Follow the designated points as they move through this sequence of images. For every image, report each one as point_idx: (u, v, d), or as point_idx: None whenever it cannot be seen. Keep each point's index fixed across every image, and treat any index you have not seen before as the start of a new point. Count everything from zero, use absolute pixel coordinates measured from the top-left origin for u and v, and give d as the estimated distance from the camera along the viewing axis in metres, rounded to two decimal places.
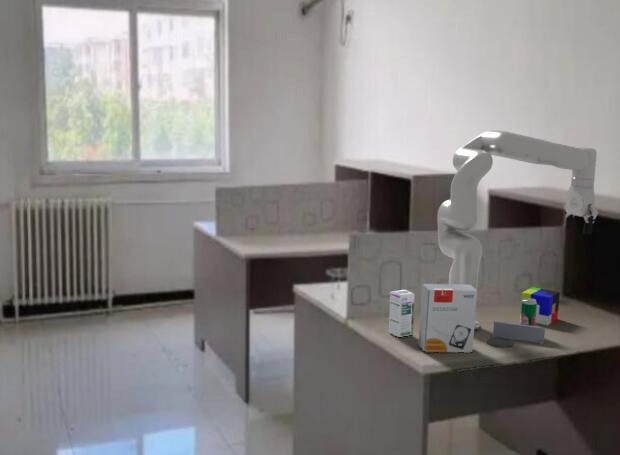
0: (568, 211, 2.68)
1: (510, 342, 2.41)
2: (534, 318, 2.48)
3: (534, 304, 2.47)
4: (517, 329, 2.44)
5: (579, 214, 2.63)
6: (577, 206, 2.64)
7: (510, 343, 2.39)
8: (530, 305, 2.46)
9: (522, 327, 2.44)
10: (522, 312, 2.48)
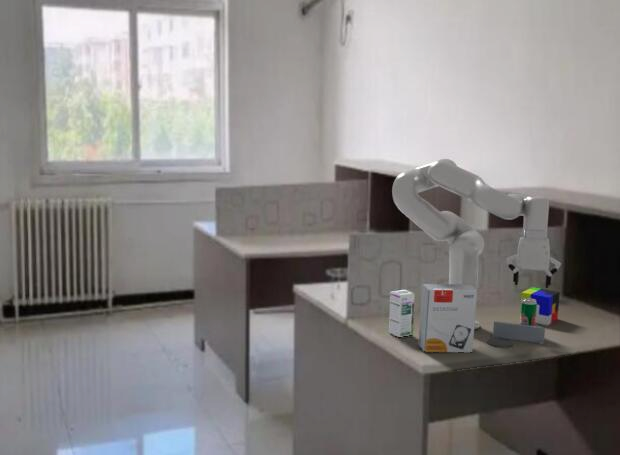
0: (523, 266, 2.45)
1: (510, 342, 2.41)
2: (534, 318, 2.48)
3: (534, 304, 2.47)
4: (517, 329, 2.44)
5: (543, 268, 2.43)
6: (538, 260, 2.43)
7: (510, 343, 2.39)
8: (530, 305, 2.46)
9: (522, 327, 2.44)
10: (522, 312, 2.48)
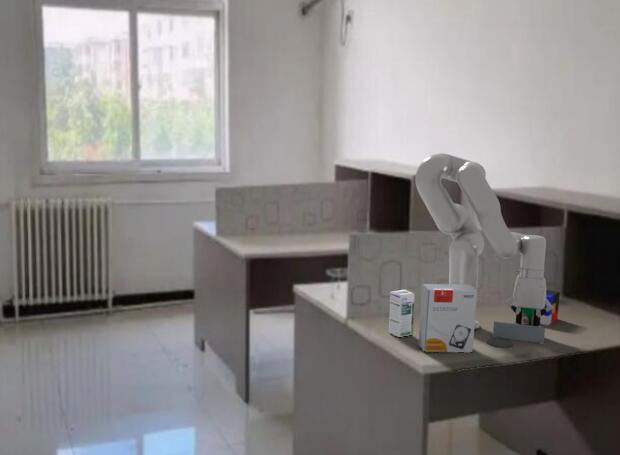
0: (519, 304, 2.47)
1: (510, 342, 2.41)
2: (534, 318, 2.48)
3: None
4: (517, 329, 2.44)
5: (539, 307, 2.45)
6: (535, 299, 2.45)
7: (510, 343, 2.39)
8: None
9: (522, 327, 2.44)
10: (522, 312, 2.48)
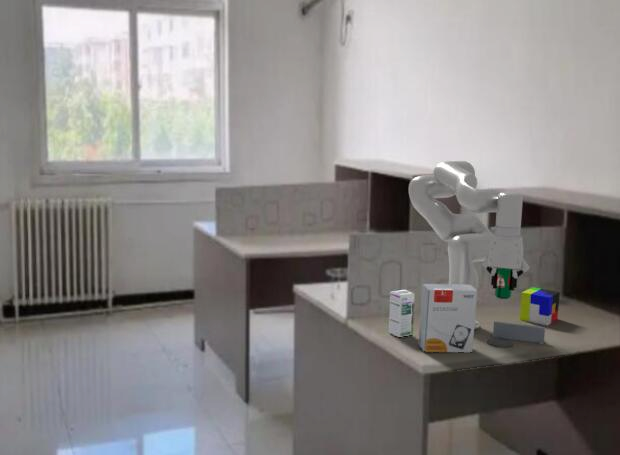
0: (495, 265, 2.35)
1: (510, 342, 2.41)
2: (510, 279, 2.36)
3: None
4: (517, 329, 2.44)
5: (515, 267, 2.33)
6: (511, 259, 2.33)
7: (510, 343, 2.39)
8: None
9: (522, 327, 2.44)
10: (498, 273, 2.36)
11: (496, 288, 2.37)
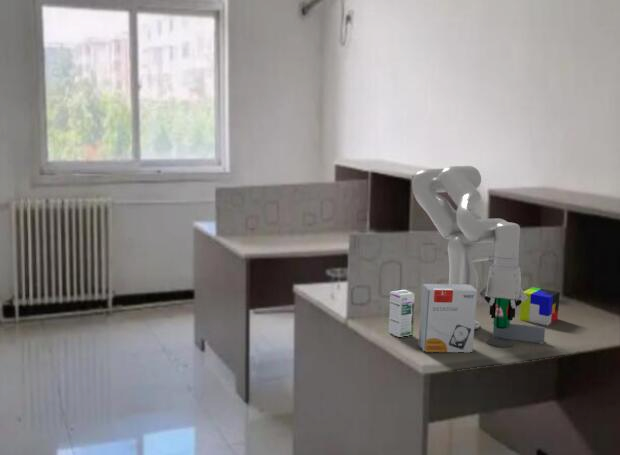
0: (493, 295, 2.37)
1: (510, 342, 2.41)
2: (508, 309, 2.37)
3: None
4: (517, 329, 2.44)
5: (513, 297, 2.35)
6: (509, 289, 2.35)
7: (510, 343, 2.39)
8: None
9: (522, 327, 2.44)
10: (496, 303, 2.38)
11: (494, 318, 2.39)
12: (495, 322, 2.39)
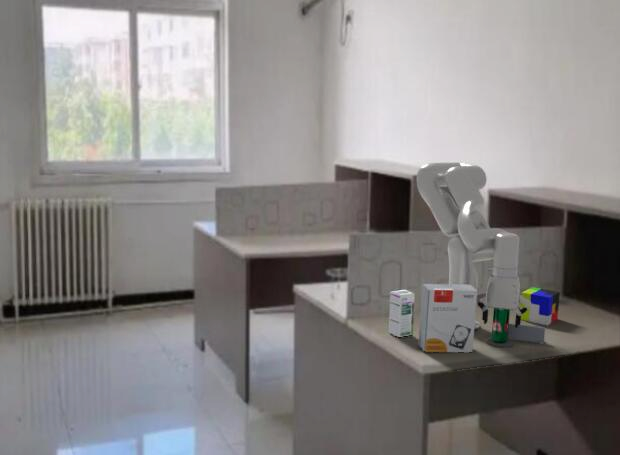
0: (492, 305, 2.37)
1: (510, 342, 2.41)
2: (507, 324, 2.38)
3: None
4: (517, 329, 2.44)
5: (512, 308, 2.35)
6: (508, 299, 2.35)
7: (510, 343, 2.39)
8: (502, 311, 2.37)
9: (522, 327, 2.44)
10: (494, 318, 2.39)
11: (493, 332, 2.40)
12: (493, 337, 2.40)
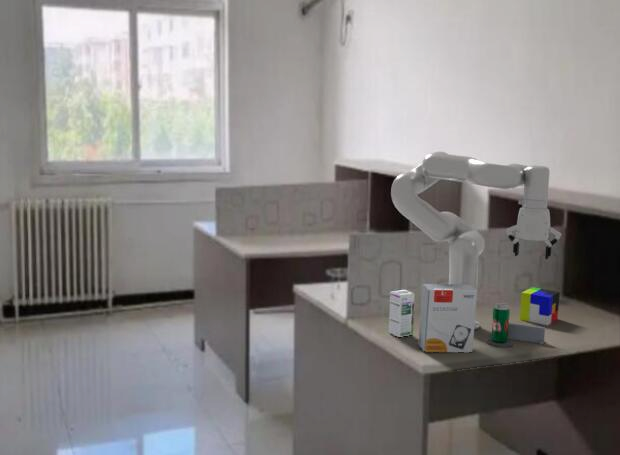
0: (522, 236, 2.43)
1: (510, 342, 2.41)
2: (507, 324, 2.38)
3: (506, 309, 2.37)
4: (517, 329, 2.44)
5: (542, 238, 2.41)
6: (538, 230, 2.41)
7: (510, 343, 2.39)
8: (502, 310, 2.37)
9: (522, 327, 2.44)
10: (494, 318, 2.39)
11: (493, 332, 2.40)
12: (493, 337, 2.40)
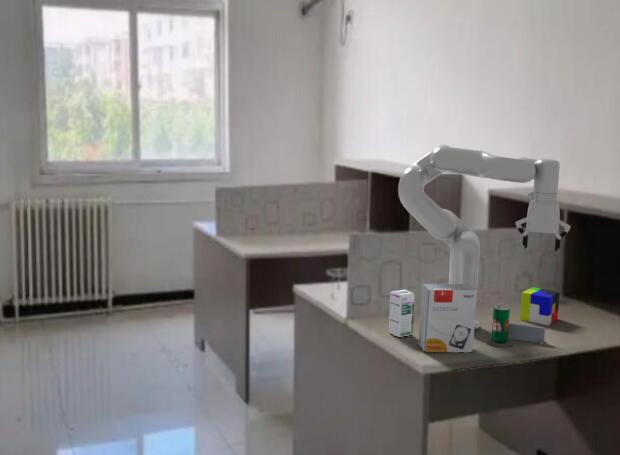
0: (533, 229, 2.46)
1: (510, 342, 2.41)
2: (507, 324, 2.38)
3: (507, 309, 2.37)
4: (517, 329, 2.44)
5: (552, 231, 2.44)
6: (548, 223, 2.44)
7: (510, 343, 2.39)
8: (502, 311, 2.37)
9: (522, 327, 2.44)
10: (494, 318, 2.39)
11: (493, 332, 2.40)
12: (493, 337, 2.40)
